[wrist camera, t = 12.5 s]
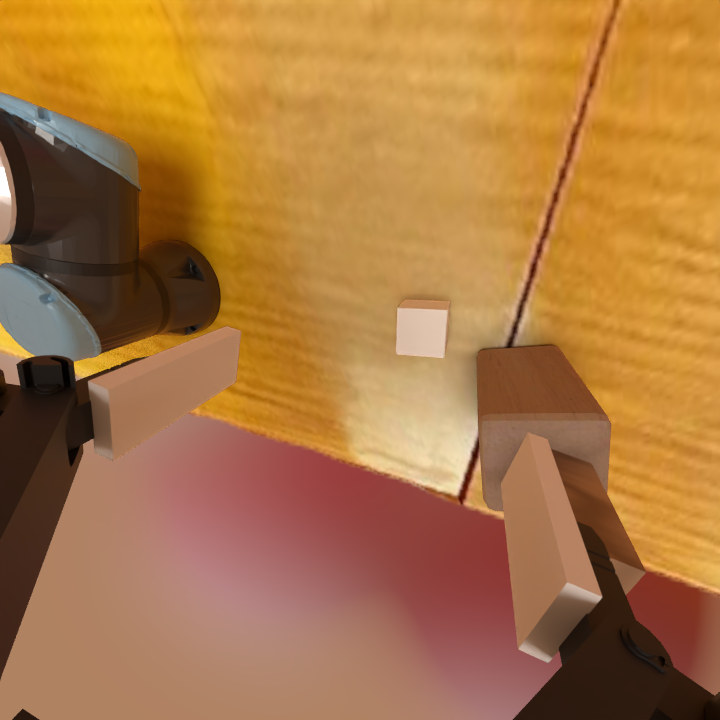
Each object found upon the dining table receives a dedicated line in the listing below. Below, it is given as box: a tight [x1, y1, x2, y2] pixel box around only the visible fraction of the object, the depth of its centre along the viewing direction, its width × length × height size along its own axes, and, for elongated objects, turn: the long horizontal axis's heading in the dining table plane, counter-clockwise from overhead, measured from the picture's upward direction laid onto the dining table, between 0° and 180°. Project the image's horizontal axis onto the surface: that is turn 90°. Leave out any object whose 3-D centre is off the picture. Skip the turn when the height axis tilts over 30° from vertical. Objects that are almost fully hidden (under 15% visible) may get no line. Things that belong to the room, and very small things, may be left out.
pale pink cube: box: [396, 299, 450, 358], centre depth 46 cm, size 6×6×6 cm
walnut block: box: [551, 449, 646, 595], centre depth 25 cm, size 5×5×10 cm
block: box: [477, 345, 611, 511], centre depth 39 cm, size 10×10×20 cm
